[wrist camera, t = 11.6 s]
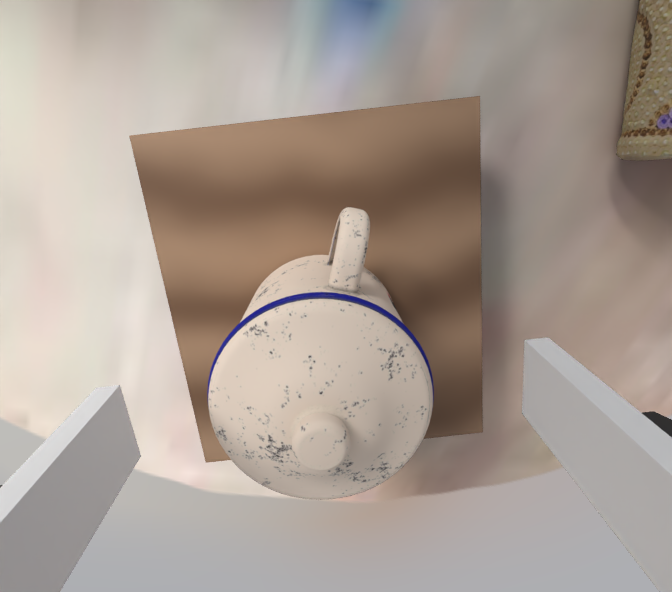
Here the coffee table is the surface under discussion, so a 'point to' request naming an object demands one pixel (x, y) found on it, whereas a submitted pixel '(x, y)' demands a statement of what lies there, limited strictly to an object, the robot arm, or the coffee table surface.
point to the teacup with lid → (322, 377)
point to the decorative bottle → (649, 86)
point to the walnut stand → (325, 230)
